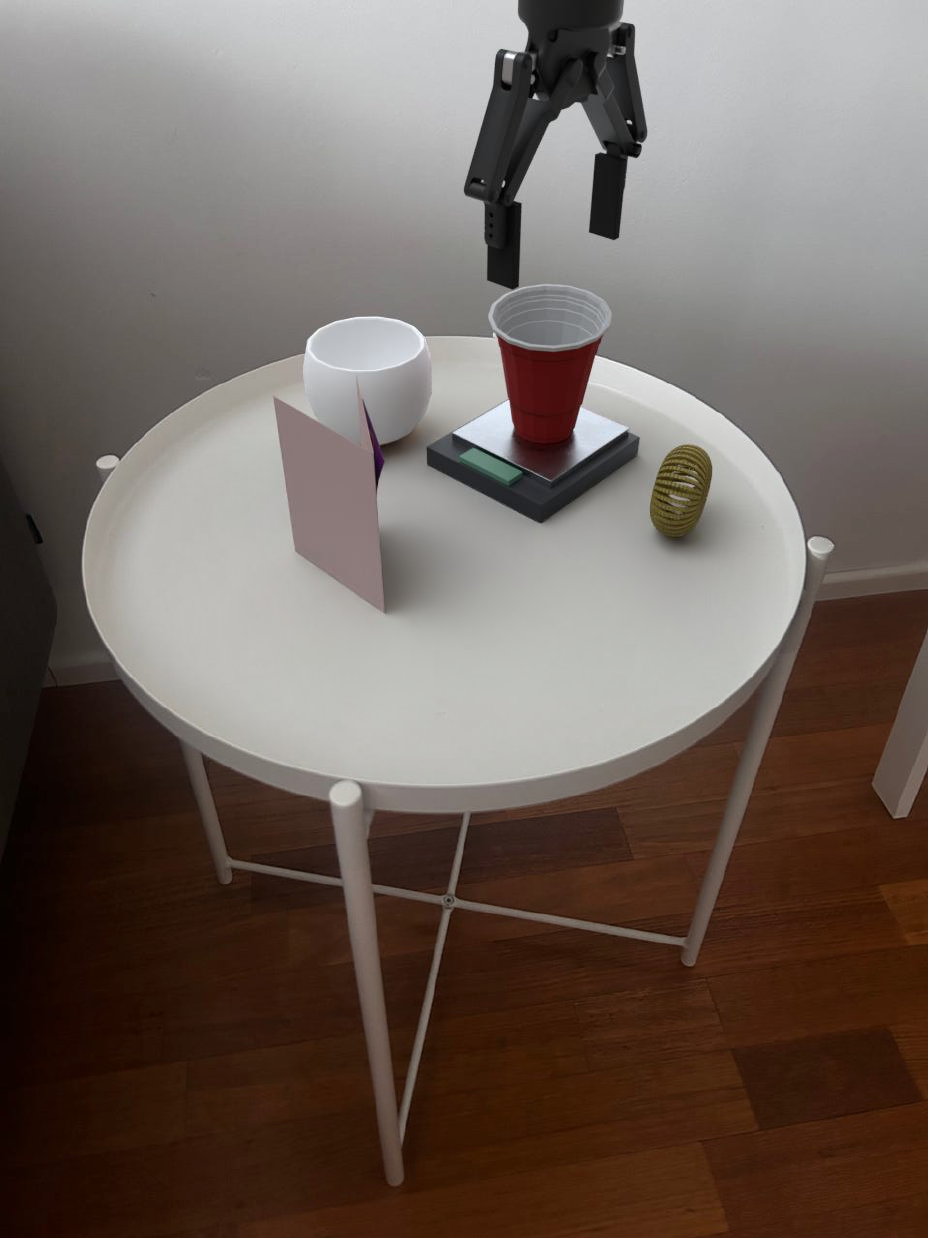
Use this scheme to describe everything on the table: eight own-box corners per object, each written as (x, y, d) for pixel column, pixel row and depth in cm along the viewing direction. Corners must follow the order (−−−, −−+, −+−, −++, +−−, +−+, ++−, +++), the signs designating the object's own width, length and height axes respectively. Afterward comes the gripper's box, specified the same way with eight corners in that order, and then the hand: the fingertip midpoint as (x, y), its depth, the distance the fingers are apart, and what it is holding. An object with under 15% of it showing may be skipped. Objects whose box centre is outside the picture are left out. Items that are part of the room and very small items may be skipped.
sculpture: (665, 498, 92) (677, 422, 87) (708, 509, 91) (723, 433, 86) (638, 547, 87) (650, 469, 82) (684, 560, 86) (699, 481, 80)
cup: (287, 425, 102) (275, 336, 95) (389, 388, 107) (385, 302, 101) (352, 481, 94) (344, 389, 88) (458, 439, 100) (458, 349, 93)
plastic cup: (468, 446, 94) (469, 325, 86) (509, 391, 101) (513, 275, 93) (580, 471, 91) (591, 348, 83) (613, 413, 98) (627, 295, 90)
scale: (637, 454, 98) (641, 429, 96) (540, 523, 90) (542, 497, 88) (526, 404, 105) (527, 380, 103) (426, 464, 97) (425, 439, 95)
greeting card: (395, 611, 81) (385, 452, 71) (302, 623, 80) (279, 463, 70) (378, 527, 89) (367, 373, 79) (293, 536, 88) (271, 382, 78)
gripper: (632, -70, 79) (607, 207, 93) (409, -24, 65) (419, 292, 79) (715, -59, 75) (676, 227, 89) (497, -9, 61) (491, 320, 75)
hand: (555, 258), depth 84 cm, fingers open, 13 cm apart
